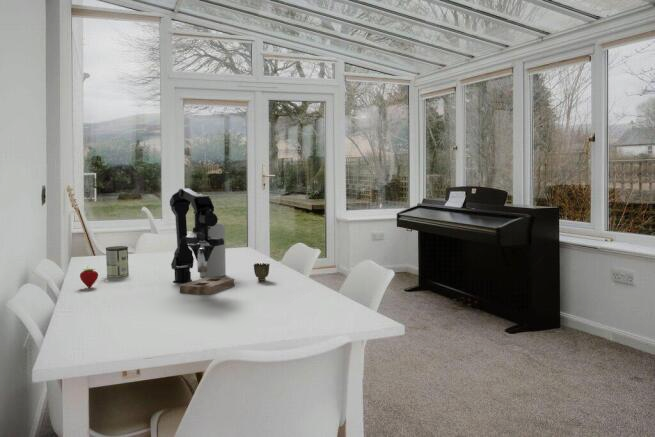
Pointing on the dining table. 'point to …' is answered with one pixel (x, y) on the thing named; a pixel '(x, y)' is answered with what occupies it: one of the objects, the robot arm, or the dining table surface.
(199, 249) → the lock pin
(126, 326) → the dining table surface
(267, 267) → the cup
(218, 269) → the cylinder vase
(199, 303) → the dining table surface
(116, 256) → the coffee can
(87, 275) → the strawberry
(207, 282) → the mount block
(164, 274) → the dining table surface
